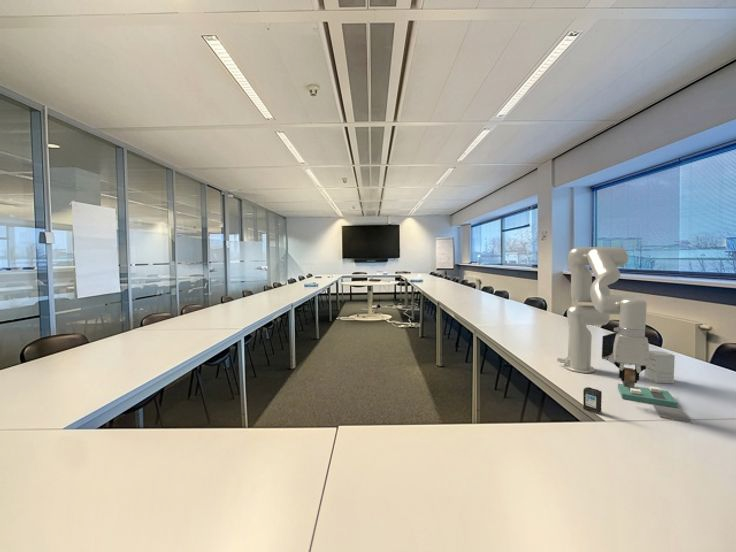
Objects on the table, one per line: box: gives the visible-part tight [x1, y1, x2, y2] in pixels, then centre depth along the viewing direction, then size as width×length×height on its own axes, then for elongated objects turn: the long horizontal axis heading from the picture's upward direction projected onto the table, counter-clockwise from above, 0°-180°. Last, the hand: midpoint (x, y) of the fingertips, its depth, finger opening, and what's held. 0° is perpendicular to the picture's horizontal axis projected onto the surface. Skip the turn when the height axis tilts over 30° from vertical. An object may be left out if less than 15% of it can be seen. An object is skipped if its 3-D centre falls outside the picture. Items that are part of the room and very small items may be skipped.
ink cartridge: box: [582, 386, 602, 415], centre depth 118 cm, size 5×2×8 cm, turn 32°
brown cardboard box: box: [621, 366, 636, 388], centre depth 122 cm, size 3×4×6 cm
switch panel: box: [617, 383, 678, 409], centre depth 130 cm, size 16×12×2 cm
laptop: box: [601, 331, 631, 366], centre depth 178 cm, size 18×12×13 cm
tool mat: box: [652, 404, 693, 424], centre depth 116 cm, size 8×10×1 cm
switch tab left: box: [630, 388, 641, 395], centre depth 129 cm, size 3×2×1 cm
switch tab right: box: [649, 385, 662, 393], centre depth 130 cm, size 3×2×1 cm
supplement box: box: [643, 350, 676, 384], centre depth 147 cm, size 7×7×13 cm
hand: (628, 380), depth 122 cm, fingers closed on brown cardboard box, 3 cm apart
